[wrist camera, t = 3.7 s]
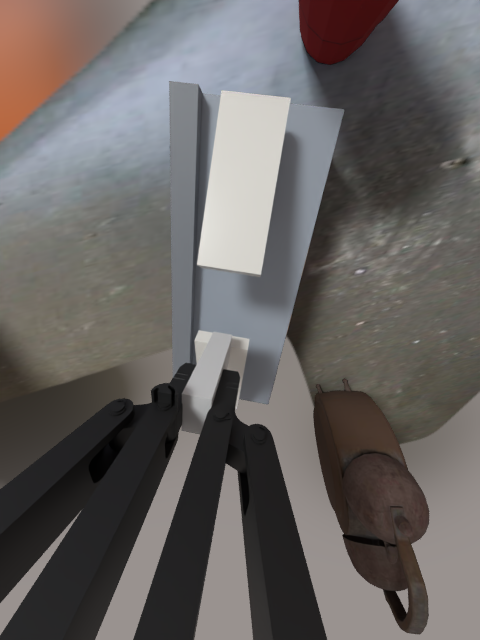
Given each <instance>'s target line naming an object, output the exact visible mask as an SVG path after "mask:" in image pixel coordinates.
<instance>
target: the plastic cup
mask: <svg viewBox="0 0 480 640" xmlns="http://www.w3.org/2000/svg"><path fill="white" fill-rule="evenodd" d="M398 1H399V0H299V20H300V32H301V37H302V40H303V42H304V45H305V48H306V50H307V52H308V53H309V54H310V55H311V56H312V57H313V58H314V59H315V60H316V61H317V62H320V63H324V64H328V65H331V64H334V63H337V62H340V61H343V60H345V59H346V58H347V57H348V56H349V55H351V54H352V53H353V52H354V51H355V50H356V49H358V48H359V47H360V46H361V45H362V44H363V43H364V41H365V40H366V39H367V37H368V36H369V35H370V34H371V32H372V31H373V30H374V28H375V27H376V26H377V25H378V24H379V23H380V22H381V21H382V20H383V19H384V18H385V17H386V15H387V14H388V13H389V12H390V11H391V9H392V8H393V7H394V6H395V4H396V3H397V2H398Z"/></svg>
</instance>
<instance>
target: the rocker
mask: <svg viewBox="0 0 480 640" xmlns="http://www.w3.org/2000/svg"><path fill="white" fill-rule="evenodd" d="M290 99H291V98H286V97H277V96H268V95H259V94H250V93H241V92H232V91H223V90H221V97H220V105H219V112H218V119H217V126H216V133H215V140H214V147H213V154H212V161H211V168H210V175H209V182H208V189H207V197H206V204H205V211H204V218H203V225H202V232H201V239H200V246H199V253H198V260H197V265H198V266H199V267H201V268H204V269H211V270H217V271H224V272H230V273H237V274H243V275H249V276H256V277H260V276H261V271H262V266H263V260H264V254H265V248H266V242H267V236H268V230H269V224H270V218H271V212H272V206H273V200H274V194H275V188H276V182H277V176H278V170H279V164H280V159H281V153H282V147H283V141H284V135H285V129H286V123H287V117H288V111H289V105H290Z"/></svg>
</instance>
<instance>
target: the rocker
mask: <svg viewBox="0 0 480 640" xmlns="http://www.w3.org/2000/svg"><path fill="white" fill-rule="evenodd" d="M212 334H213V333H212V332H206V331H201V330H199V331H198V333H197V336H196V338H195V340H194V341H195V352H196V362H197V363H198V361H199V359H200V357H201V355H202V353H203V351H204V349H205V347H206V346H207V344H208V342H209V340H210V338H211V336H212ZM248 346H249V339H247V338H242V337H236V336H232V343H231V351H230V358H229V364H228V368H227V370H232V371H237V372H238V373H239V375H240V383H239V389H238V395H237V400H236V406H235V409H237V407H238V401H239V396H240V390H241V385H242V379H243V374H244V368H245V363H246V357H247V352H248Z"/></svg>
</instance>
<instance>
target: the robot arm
mask: <svg viewBox="0 0 480 640" xmlns="http://www.w3.org/2000/svg"><path fill="white" fill-rule="evenodd" d="M231 343H232V335H231V334H225V333H219V332H213V334H212V336H211V338H210V340H209V342H208V344H207V346H206V347H205V349H204V351H203V353H202V355H201V357H200V359H199V361H198V363H197V365H196V364H191V363H185V364H183V365H182V366H180V367H179V369H178V371H177V372H176V374H175V375H174V377H173V379H172V380H171V382H170V383H163V384H159V385H157V386H155V387H154V388H153V389H152V390H151V395H152V403H149V404H144V405H133V402H132V401H131V400H129V399H125V398H124V399H117V400H114V401H112V402H111V403H109V404H108V405H106V406H105V407H104V408H102V409H101V410H100V411H99V412H98V413H96V414H95V415H94V416H92V417H91V418H90V419H89V420H87V421H86V422H85V423H83V424H82V425H81V426H80V427H79V428H77V429H76V430H75V431H74V432H72V433H71V434H70V435H68V436H67V437H66V438H65V439H63V440H62V441H61V442H59V443H58V444H57V445H56V446H54V447H53V448H52V449H51V450H49V451H48V452H47V453H46V454H44V455H43V456H42V457H41V458H39V459H38V460H37V461H36V462H34V463H33V464H32V465H31V466H29V467H28V468H27V469H26V470H24V471H23V472H22V473H20V474H19V475H18V476H17V477H15V478H14V479H13V480H12V481H10V482H9V483H8V484H7V485H5V486H4V487H3V488H1V489H0V603H1V601H2V600H3V599H4V598H5V597H6V596H7V595H8V594H9V592H10V591H11V590H12V589H13V588H14V587H15V586H16V584H17V583H18V582H19V581H20V580H21V578H22V577H23V576H24V575H25V574H26V573H27V572H28V571H29V569H30V568H31V567H32V566H33V565H34V564H35V563H36V561H37V560H38V559H39V558H40V557H41V556H42V555H43V553H44V552H45V551H46V550H47V549H48V548H49V547H50V545H51V544H52V543H53V542H54V541H55V539H56V538H57V537H58V536H59V535H60V534H61V533H62V532H63V531H64V529H65V528H66V527H67V526H68V525H69V524H70V522H71V521H72V520H73V519H74V518H75V517H76V516H77V514H78V513H79V512H80V511H81V510H82V511H81V513H80V514H79V516H78V517H77V519H76V520H75V522H74V523H73V525H72V526H71V528H70V529H69V531H68V533H67V534H66V535H65V537H64V539H63V540H62V542H61V543H60V545H59V546H58V548H57V549H56V551H55V552H54V554H53V555H52V557H51V559H50V560H49V562H48V563H47V565H46V566H45V568H44V569H43V571H42V573H41V574H40V575H39V577H38V579H37V580H36V582H35V583H34V585H33V586H32V588H31V589H30V591H29V592H28V594H27V595H26V597H25V599H24V600H23V602H22V603H21V605H20V606H19V608H18V610H17V611H16V613H15V614H14V615H13V617H12V619H11V620H10V622H9V623H8V625H7V626H6V628H5V629H4V631H3V632H2V634H1V635H0V640H95V638H96V636H97V633H98V631H99V628H100V626H101V624H102V621H103V619H104V616H105V614H106V612H107V609H108V607H109V604H110V602H111V600H112V597H113V594H114V592H115V590H116V588H117V585H118V583H119V580H120V578H121V575H122V573H123V571H124V568H125V566H126V563H127V561H128V559H129V556H130V554H131V551H132V549H133V547H134V544H135V542H136V539H137V537H138V535H139V532H140V530H141V527H142V525H143V523H144V520H145V518H146V515H147V513H148V510H149V508H150V506H151V503H152V501H153V498H154V496H155V494H156V491H157V489H158V486H159V484H160V482H161V479H162V477H163V474H164V472H165V469H166V467H167V465H168V462H169V460H170V457H171V455H172V453H173V450H174V447H175V445H176V443H177V440H178V432H179V429H180V427H181V425H182V431H186V432H191V433H196V434H200V437H199V440H198V443H197V446H196V449H195V452H194V456H193V458H192V462H191V465H190V468H189V471H188V474H187V477H186V480H185V483H184V486H183V489H182V492H181V495H180V498H179V501H178V504H177V507H176V511H175V514H174V517H173V520H172V523H171V526H170V530H169V532H168V535H167V538H166V542H165V544H164V547H163V551H162V554H161V557H160V560H159V563H158V566H157V569H156V572H155V575H154V578H153V581H152V584H151V587H150V590H149V593H148V597H147V599H146V603H145V606H144V609H143V612H142V615H141V618H140V621H139V624H138V627H137V630H136V633H135V636H134V639H133V640H194V637H195V631H196V626H197V620H198V615H199V609H200V603H201V598H202V592H203V586H204V581H205V576H206V569H207V564H208V558H209V553H210V547H211V542H212V536H213V531H214V525H215V519H216V514H217V508H218V503H219V497H220V492H221V486H222V481H223V475H224V470H225V464H228V465H230V466H231V467H233V468H234V469H236V470H237V471H238V481H239V491H240V502H241V512H242V523H243V534H244V545H245V556H246V566H247V577H248V587H249V598H250V608H251V619H252V629H253V640H327V637H326V634H325V630H324V626H323V623H322V619H321V615H320V612H319V608H318V604H317V600H316V597H315V593H314V589H313V585H312V582H311V578H310V575H309V570H308V567H307V563H306V559H305V556H304V552H303V548H302V545H301V541H300V537H299V533H298V530H297V526H296V522H295V518H294V515H293V511H292V507H291V504H290V500H289V496H288V492H287V489H286V486H285V481H284V478H283V474H282V470H281V467H280V463H279V459H278V455H277V452H276V448H275V444H274V440H273V437H272V435H271V432H270V431H269V430H268V429H267V428H266V427H265V426H263V425H260V424H253V425H250V426H248V425H246V424H244V423H242V422H241V421H240V420H239V419H238V418H237V416H236V414H235V406H236V400H237V395H238V389H239V383H240V375H239V373H238V372H237V371H232V370H227V368H228V364H229V358H230V351H231Z"/></svg>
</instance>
